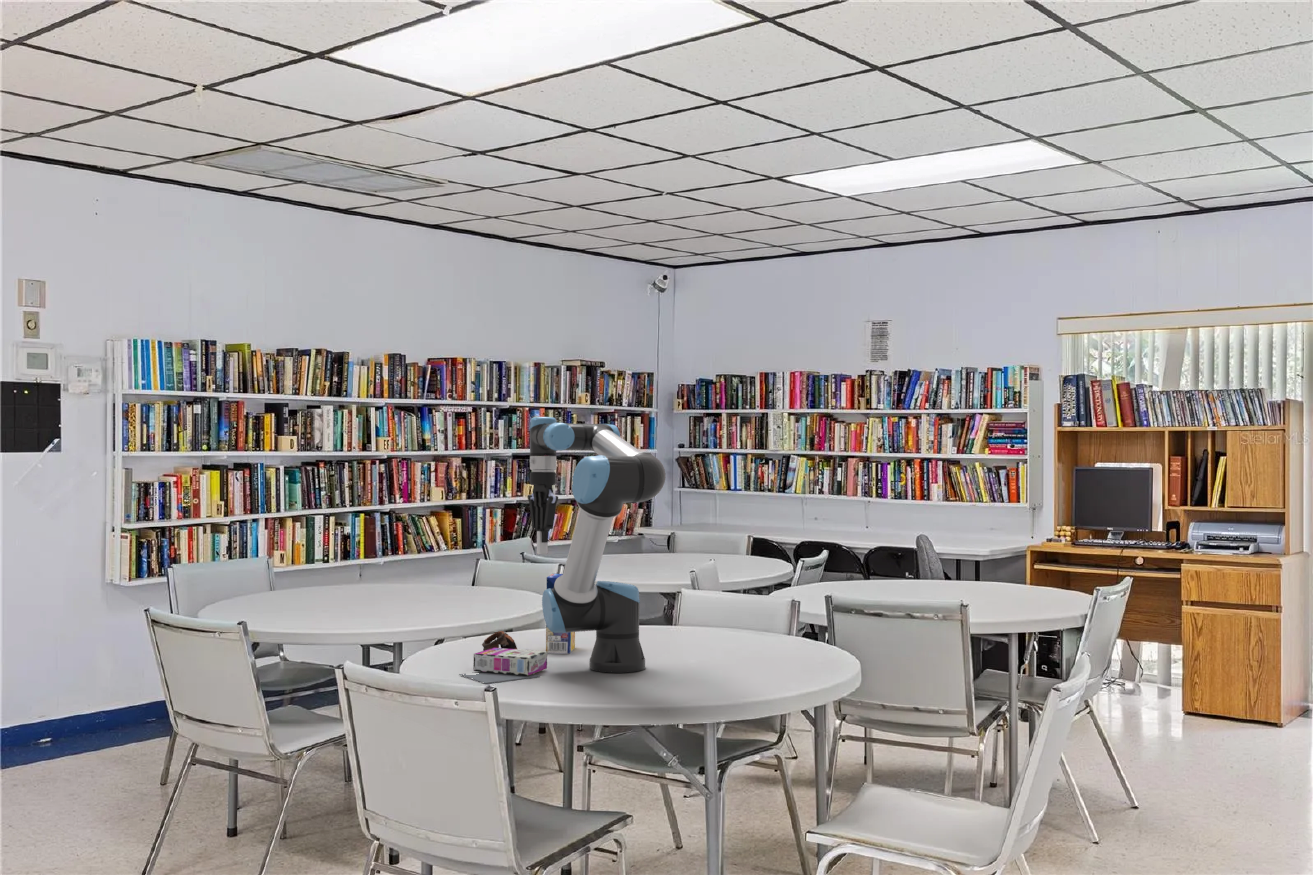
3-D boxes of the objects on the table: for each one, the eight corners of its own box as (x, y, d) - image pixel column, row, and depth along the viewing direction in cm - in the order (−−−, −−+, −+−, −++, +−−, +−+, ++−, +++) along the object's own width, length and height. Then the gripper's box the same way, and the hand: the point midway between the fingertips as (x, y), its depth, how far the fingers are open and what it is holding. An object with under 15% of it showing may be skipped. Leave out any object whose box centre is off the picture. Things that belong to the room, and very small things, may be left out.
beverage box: (574, 647, 340) (575, 573, 341) (569, 653, 329) (569, 577, 330) (552, 647, 341) (553, 573, 341) (545, 653, 330) (546, 577, 330)
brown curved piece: (519, 661, 319) (504, 637, 318) (489, 675, 320) (475, 651, 319) (524, 643, 331) (510, 620, 329) (496, 657, 332) (482, 633, 330)
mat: (540, 677, 294) (540, 675, 294) (485, 684, 284) (485, 683, 284) (512, 668, 305) (512, 667, 305) (459, 675, 295) (459, 674, 295)
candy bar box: (472, 672, 299) (528, 676, 293) (472, 653, 299) (528, 657, 293) (494, 665, 309) (548, 669, 303) (494, 647, 309) (548, 650, 303)
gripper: (519, 470, 327) (519, 553, 326) (543, 471, 316) (543, 556, 316) (542, 470, 331) (541, 551, 331) (566, 471, 321) (565, 555, 321)
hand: (542, 553), depth 323 cm, fingers closed
